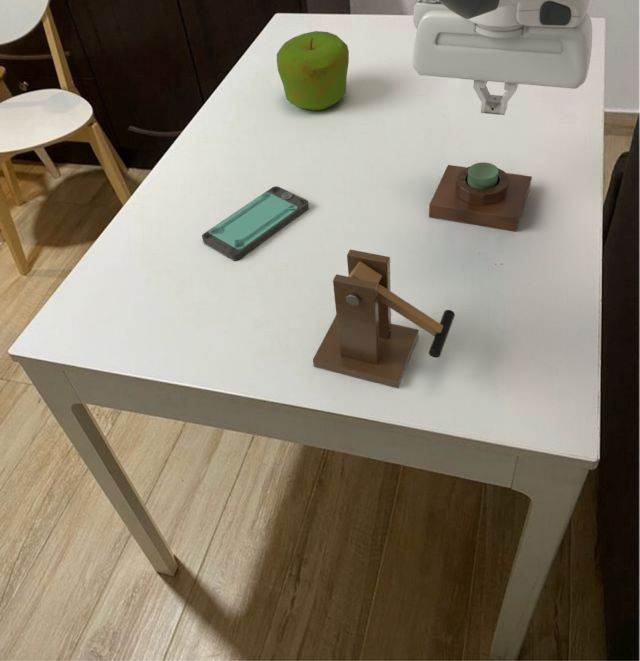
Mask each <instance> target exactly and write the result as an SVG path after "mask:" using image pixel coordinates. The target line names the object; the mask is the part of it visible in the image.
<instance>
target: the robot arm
mask: <svg viewBox="0 0 640 661" xmlns="http://www.w3.org/2000/svg"><path fill="white" fill-rule="evenodd" d="M590 1H591V0H416V1H415V2H414V4H413V10H412V11H413V13H412V14H413V18H412V20H413V25H414V27H415V30H416V33H415V37H414V46H413V52H412V67H413V69H414V71H415V72H416V73H417V74H418V75H419V76H426V77H435V78H436V77H437V78H448V79H459V80H471V81H473V86H472V87H473V88H472V89H473V90H474V91H475V94H476V95H477V97H478V99H479V101H481V102H480V103H481V104H480V114H487V115H496V116H497V115H498V116H505V115H506V113H507V109H508V102H509V101H510V99H511V98H512V97H513V96H514V95H515V93H516V92H517V89H518V87H519V85H528V86H537V87H538V86H539V87H550V88H562V89H573V90H574V89H575V90H577V89H578V88H579V87H581V86H582V85H583V84H584V83H585V82H586V80H587V78H588V74H589V69H590V64H591V57H592V47H593V23H592V19H591V16H590V15H589V13H588V9H589V5H590ZM488 82H494V83H504V87H503V91H505V92H504V93H503V95H497V94H491V93H490V91H489V89H488V87H487V84H488Z"/></svg>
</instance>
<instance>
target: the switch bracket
mask: <svg viewBox="0 0 640 661" xmlns="http://www.w3.org/2000/svg"><path fill="white" fill-rule="evenodd" d="M346 261H347V262H346V263H347V273H348V276H349V274H350V273H351V272H352V270H353V269H354V268H355V266H356V265H357V264H358V263H359V262H360V261H361V262H362V263H364V264H365V265H367V266H368V267H370V268H371V269H373V270H374V271H376V272H377V273H379V274H380V275H382V277H381V280H380V282H379V284H380V285H382V286H383V287H385V288H386V289H388V290H389V291H391V257H390V256H386V255H382V254H376V253H372V252H366V251H361V250H355V249H349V250H348V252H347V254H346ZM348 276H347V275H342V274H337V273H336V274H335V276H334V277H333V280H332V286H333V294H334V296H333V297H334V304H335V305H334V306H335V316H334V318H333V320H332V322H331V324H330V326H329V328H328V330H327V332H326V334H325V335H324V338H323V340H322V341H321V343H320V345H319V347H318V349H317V351H316V353H315V355H314V356H313V358H312V366H313V367H315V368H318V369H322V370H326V371H330V372H334V373H338V374H342V375H346V376H349V377H353V378H356V379H361V380H364V381H369V382H373V383H376V384H381V385H385V386H387V387H392V388H396V389H399V386H400V383H401V381H402V379H403V377H404V374H405V371H406V368H407V366H408V363H409V362H410V360H411V356H412V354H413V351H414V349H415V346H416V344H417V341H418V339H419V336H420V335H419V332H420V330H419V329H417V328H414V327H413V328H412V327H409V326H404V325H399V324H395V323H392V309H391V308H390V307H388V306H387V305H385V304H384V303H382V302H381V301H379V300H378V289H377V282H372V281H367V280H362V279H357V278H352V277H348Z"/></svg>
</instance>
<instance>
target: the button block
mask: <svg viewBox="0 0 640 661" xmlns="http://www.w3.org/2000/svg"><path fill="white" fill-rule="evenodd" d="M470 166H471V165H469V166H459V165H453V164H447V165H446V168H445V170H444V171H443V172H444V173H443V174H442V177H441V179H440V181H439V183H438V185H437V187H436V190H435V192H434V193H433V195H432V198H431V200H430V202H429V203H428V204H429V205H428V206H429V207H428V217H429V218H433V219H438V220H445V221H450V222H456V223H462V224H469V225H473V226H474V225H475V226H480V227H485V228H486V227H487V228H493V229H499V230H502V231H503V230H505V231H510V232H517V231H518V229H519V224H520V222H521V219H522V215H523V212H524V209H525V206H526V203H527V200H528V196H529V193H530V190H531V185H532V179H533V176H531V175H525V174H517V173H510V172H506V171H504V170H503V169H501V168H499V167H497V168H498V171H499V173H498V181H497V184H496V185H495V186H494V187H493V188H489V189H478V188H473V187H471V186H470V185H469V184H468V182H467V180H468V169H469V168H470Z"/></svg>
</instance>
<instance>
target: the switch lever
mask: <svg viewBox="0 0 640 661" xmlns="http://www.w3.org/2000/svg"><path fill="white" fill-rule="evenodd" d="M347 277H352V278H357V279H362V280H367V281H372V282H377V289H378V300H379V301H381V302H382V303H384V304H385V305H387V306H388V307H390V308H391V310H393V311H394V312H396V313H397V314H399V315H400V316H402V317H403V318H405V319H406V320H408V321H410V322H411V323H413V324H414V325H416V326H417V327H418V328H421V329H422V330H424V331H425V332H427V333H428V334H430V335H431V336H432V337H433V339H432V343H431V345H430V347H429V350H428V354H429V356H430V357H432V358H435V359H437V358H440V356H441V355H442V351H443V349H444V346H445V343H446V341H447V338H448V335H449V332H450V331H451V327H452V325H453V322H454V319H455V316H456V314H455V312H454V311H453V310H451V309H446V310H444V311H443V314H442V316H441V318H440V321H439V322H438V321H437V320H435V319H434V318H432V317H431V316H429V315H428V314H426V313H424V312H423V311H421V310H419V308H417V307H415V306H414V305H412V304H411V303H409V302H407V301H406V300H405V299H403V298H401V297H400V296H398V295H397V294H396V293H394V292H393V291H391V290H390V291H389V290H388V289H386V288H385V287H383V286H382V285H380V284H379V282H380V280H381V277H382V275H380V274H379V273H377V272H376V271H374V270H373V269H371V268H370V267H368V266H367V265H365V264H364V263H362V262H361V261H360V262H359V263H358V264H357V265H356V266H355V268H354V269H353V270H352V272H351V273H350V274H349V275H348V276H347Z"/></svg>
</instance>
